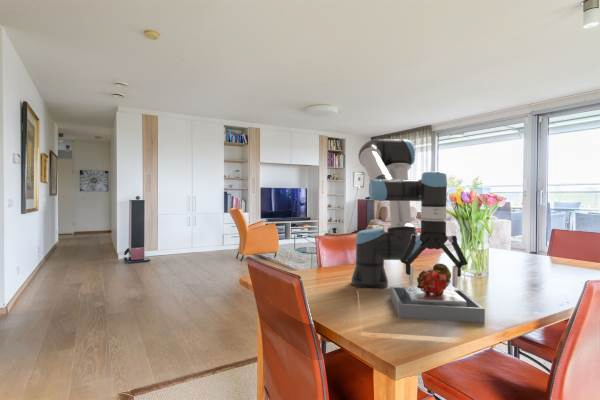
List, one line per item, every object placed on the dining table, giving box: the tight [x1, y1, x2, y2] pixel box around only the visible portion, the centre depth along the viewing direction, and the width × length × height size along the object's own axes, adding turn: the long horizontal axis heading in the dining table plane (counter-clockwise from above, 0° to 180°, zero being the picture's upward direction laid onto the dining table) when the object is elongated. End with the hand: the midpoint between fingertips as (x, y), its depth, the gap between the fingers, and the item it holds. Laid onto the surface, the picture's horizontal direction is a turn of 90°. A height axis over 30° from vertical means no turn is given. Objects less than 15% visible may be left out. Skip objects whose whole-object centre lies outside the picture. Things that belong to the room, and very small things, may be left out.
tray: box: [389, 286, 486, 324], centre depth 109 cm, size 24×20×5 cm
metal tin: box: [403, 286, 466, 307], centre depth 109 cm, size 16×14×5 cm
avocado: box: [432, 263, 452, 282], centre depth 151 cm, size 8×13×8 cm, turn 128°
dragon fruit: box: [416, 269, 449, 295], centre depth 109 cm, size 8×8×12 cm
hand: (432, 285), depth 109 cm, fingers open, 13 cm apart
